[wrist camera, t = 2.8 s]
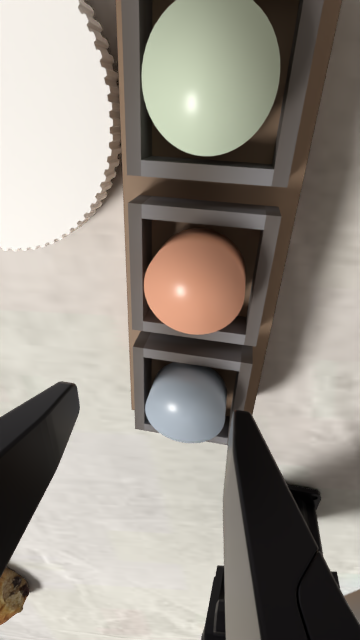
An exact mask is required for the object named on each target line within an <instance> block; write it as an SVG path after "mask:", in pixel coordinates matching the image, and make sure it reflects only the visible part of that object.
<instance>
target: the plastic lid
mask: <svg viewBox="0 0 360 640" xmlns="http://www.w3.org/2000/svg"><path fill="white" fill-rule="evenodd" d="M93 16H94V11H93V9H92V7H91V6H89V5H88V4H86V3H85V2H84V0H0V248H2V249H3V250H4V251H8V250H10V249H12V250H13V251H18V250H20V249H22V250H23V251H27V250H29V249H30V248H31V249H32V250H34V249H37V248H39V247H40V246H41V247H45V246H47V245H48V244H53V243H55V242H56V241H58V240H61V239H62V238H64V237H66V236H67V235H69V234H70V233H72V232H73V231H75V230H76V229H78V228H79V227H81V226H82V224H84V223H85V222H87V221H88V220H89V217H91V216H92V215H94V214H95V213H96V210H95V209H97V208H99V207H100V206H101V205H102V202H101V200H103V199H104V198H106V197H107V195H108V194H107V192H106V190H108V189H110V188H111V187H112V183H111V179H112V178H114V177H115V176H116V171H115V167H116V166H119V162H120V160H119V159H118V158H117V157H118V154H119V153H121V151H122V149H121V146H120V145H119V144H120V140H121V132H120V129H121V123H120V102H119V88H118V87H117V84H116V81H117V80H118V79H119V78H118V74H117V72H115V71H113V67H112V65H113V64H114V59H113V56H112V55H110V54H108V51H107V48H108V47H109V44H108V41H107V39H105V38H103V37H102V35H101V31H102V27H101V25H100V23H99V22H97V21H96V20H94V18H93Z"/></svg>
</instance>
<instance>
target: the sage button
mask: <svg viewBox="0 0 360 640" xmlns="http://www.w3.org/2000/svg"><path fill="white" fill-rule="evenodd" d="M279 78H280V54H279V47H278V43H277V39H276V35H275V33H274V30H273V27H272V25H271V23H270V21H269V20H268V18H267V16H266V15H265V13H264V12H263V11H262V9H261V8H260V7H259V6H258V5H257V4H256V3H255V2H254V1H253V0H176V1H175V2H173V3H172V4H171V5H170V6H169V7H168V8H167V9H166V10H165V12H164V13H163V14H162V15H161V17H160V18H159V20H158V21H157V23H156V24H155V26H154V28H153V30H152V32H151V34H150V36H149V39H148V42H147V44H146V48H145V52H144V56H143V63H142V90H143V96H144V100H145V104H146V107H147V110H148V113H149V115H150V117H151V119H152V121H153V123H154V125H155V126H156V128H157V129H158V131H159V132H160V133H161V134H162V135H163V137H164V138H165V139H166V140H167V141H169V142H170V143H171V144H172V145H174V146H175V147H177V148H178V149H180V150H182V151H184V152H186V153H189V154H193V155H198V156H216V155H221V154H224V153H228V152H230V151H232V150H234V149H236V148H238V147H239V146H241V145H243V144H244V143H245V142H246V141H248V140H249V139H250V138H251V137H252V136H253V135H254V134H255V133H256V132H257V131H258V129H259V128H260V127H261V126H262V124H263V123H264V121H265V119H266V118H267V116H268V114H269V112H270V110H271V108H272V106H273V103H274V100H275V97H276V94H277V90H278V85H279Z"/></svg>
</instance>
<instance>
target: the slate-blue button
mask: <svg viewBox="0 0 360 640" xmlns="http://www.w3.org/2000/svg"><path fill="white" fill-rule="evenodd" d="M226 401H227V388H226V385H225V382H224V380H223V379H222V377H221V376H220V375H219V374H218V373H217V372H216V371H215V370H213V369H212V368H210V367H206V366H199V365H193V364H186V363H179V362H173V363H170V364H168V365H166V366H164V367H163V368H162V369H161V370H160V371H159V372H158V373H157V375H156V377H155V380H154V382H153V385H152V388H151V390H150V393H149V396H148V398H147V401H146V405H145V412H146V416H147V418H148V420H149V422H150V424H151V425H152V426H153V427H154V428H155V429H156V430H157V431H158V432H159V433H161V434H162V435H164V436H166V437H168V438H170V439H172V440H175V441H179V442H184V443H200V442H204V441H208V440H210V439H212V438H214V437H215V436H217V435H218V434H219V433H220V431H221V430H222V428H223V426H224V423H225V412H226Z"/></svg>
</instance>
